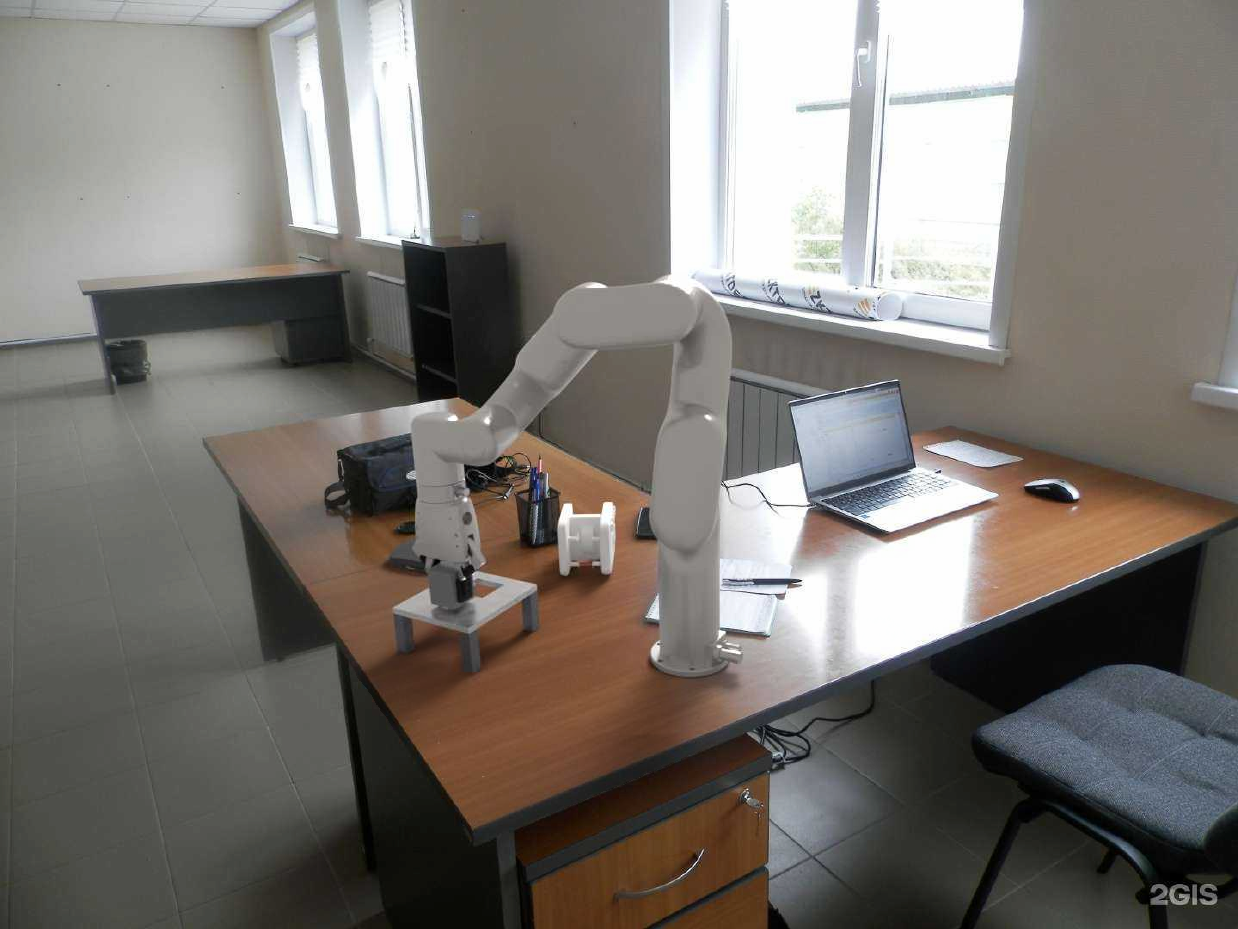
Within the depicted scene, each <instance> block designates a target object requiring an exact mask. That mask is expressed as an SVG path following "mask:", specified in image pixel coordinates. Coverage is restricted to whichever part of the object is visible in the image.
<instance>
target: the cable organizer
mask: <svg viewBox="0 0 1238 929" xmlns="http://www.w3.org/2000/svg"><path fill="white" fill-rule="evenodd" d="M616 510H617V509H616V505H614V504H613V502H612V501H611V502H610V501H609V502H603V504H602V509H601V513H596V514H595V513H594V514H593V513H588V514H586V513H585V514H583V513H582V514H574V513H573V504H572V503H564V504H563V506H562V509H561V513H560V516H559V519H558V522H557V545H558V548H557V549H558V561H559V562H558V564H559V573H560V575H562V576H564V577H567V576H568V575H569V574H570V570H571V567H578V568H577V569H578V570H580V560H600V561H592V568H594V567H600V571H601V574H603V575H605V576H606V575H610V574H611V573H612V570H613V564H614V557H615V550H616V549H615V548H616V523H615V517H616V512H617V511H616ZM573 560H577V561H573Z"/></svg>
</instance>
